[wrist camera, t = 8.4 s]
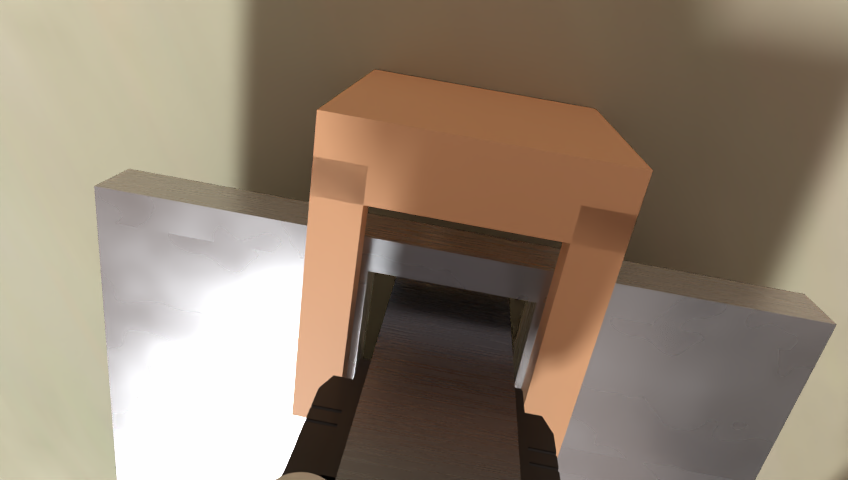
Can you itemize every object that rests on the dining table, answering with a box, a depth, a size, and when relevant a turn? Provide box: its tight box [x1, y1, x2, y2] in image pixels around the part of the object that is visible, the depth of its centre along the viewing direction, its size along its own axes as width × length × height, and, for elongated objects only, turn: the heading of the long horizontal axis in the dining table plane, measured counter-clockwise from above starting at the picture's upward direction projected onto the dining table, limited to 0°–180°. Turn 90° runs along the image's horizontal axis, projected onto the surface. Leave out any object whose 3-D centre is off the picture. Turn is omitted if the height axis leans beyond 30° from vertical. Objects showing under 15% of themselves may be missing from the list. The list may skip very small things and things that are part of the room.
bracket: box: [292, 70, 653, 458], centre depth 17 cm, size 7×8×7 cm
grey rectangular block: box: [335, 276, 521, 480], centre depth 12 cm, size 3×3×10 cm
